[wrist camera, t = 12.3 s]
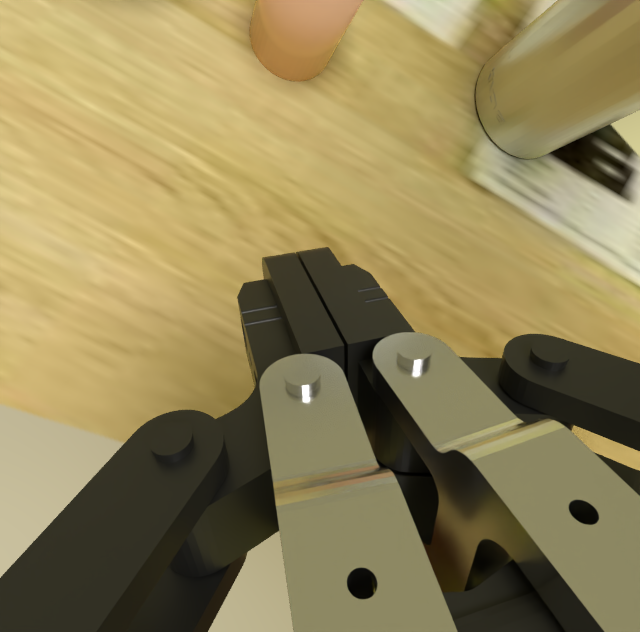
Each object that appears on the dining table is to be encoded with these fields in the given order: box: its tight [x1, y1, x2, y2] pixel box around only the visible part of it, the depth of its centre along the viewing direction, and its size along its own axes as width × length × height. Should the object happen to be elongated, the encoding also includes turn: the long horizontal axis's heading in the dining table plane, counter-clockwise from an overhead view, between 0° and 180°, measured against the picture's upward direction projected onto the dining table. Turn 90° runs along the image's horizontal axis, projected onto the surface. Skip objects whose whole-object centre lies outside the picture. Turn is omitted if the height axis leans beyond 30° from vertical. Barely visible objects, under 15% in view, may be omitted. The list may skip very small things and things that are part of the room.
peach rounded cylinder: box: [250, 0, 363, 81], centre depth 30 cm, size 6×6×8 cm
